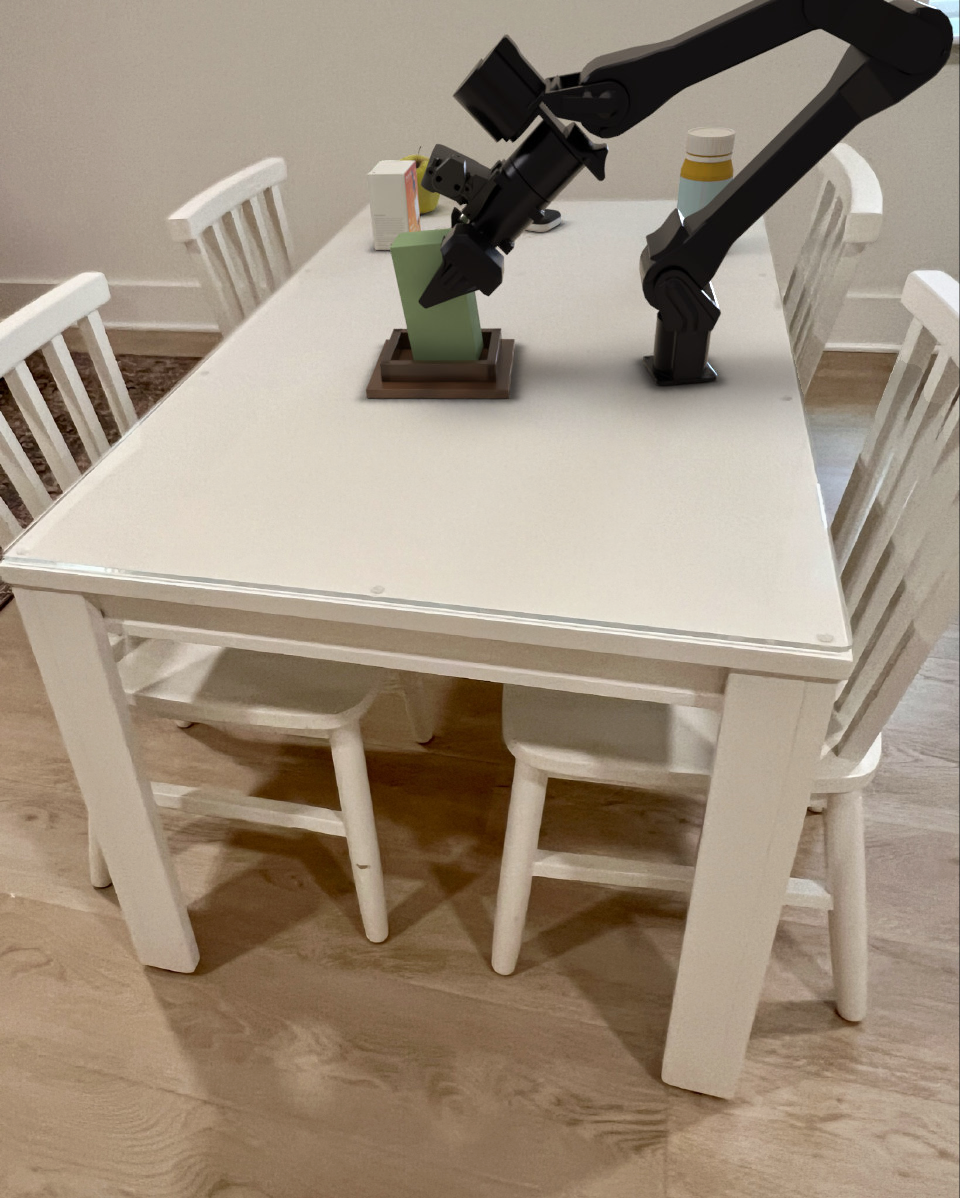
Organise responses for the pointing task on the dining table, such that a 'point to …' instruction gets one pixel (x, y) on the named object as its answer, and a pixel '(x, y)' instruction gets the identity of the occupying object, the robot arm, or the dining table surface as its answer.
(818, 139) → the robot arm
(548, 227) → the remote control
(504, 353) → the mount dock
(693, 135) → the bottle
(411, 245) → the green rectangular block
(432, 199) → the apple
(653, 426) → the dining table surface
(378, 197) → the small box
